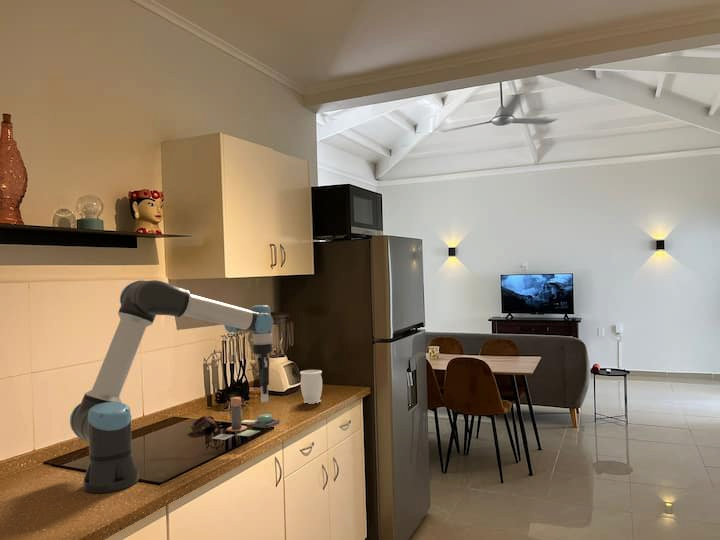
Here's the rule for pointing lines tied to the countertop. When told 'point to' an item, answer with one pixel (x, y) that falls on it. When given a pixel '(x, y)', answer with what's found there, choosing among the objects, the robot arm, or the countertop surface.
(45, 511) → the countertop surface
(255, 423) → the colouring board
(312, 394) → the jar
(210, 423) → the dark brown rock
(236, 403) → the marker
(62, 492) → the countertop surface
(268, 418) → the button
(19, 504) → the countertop surface
